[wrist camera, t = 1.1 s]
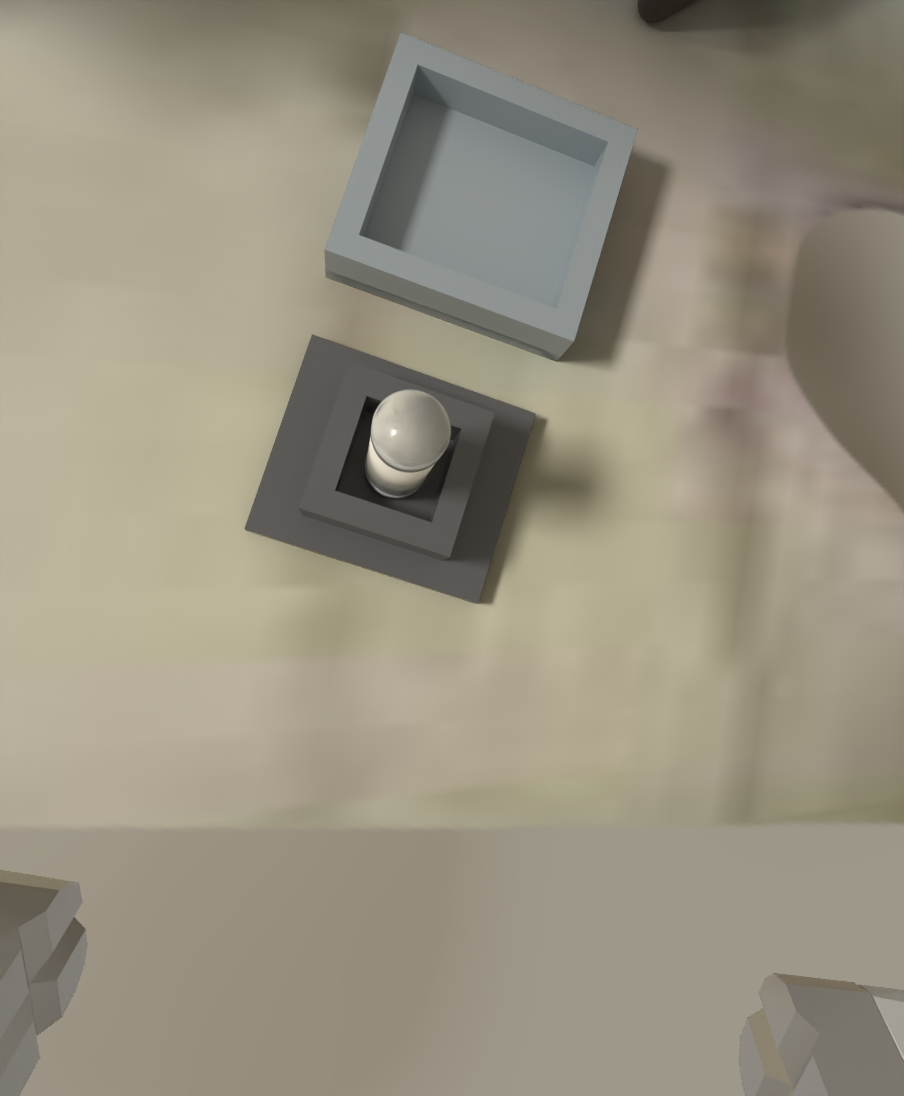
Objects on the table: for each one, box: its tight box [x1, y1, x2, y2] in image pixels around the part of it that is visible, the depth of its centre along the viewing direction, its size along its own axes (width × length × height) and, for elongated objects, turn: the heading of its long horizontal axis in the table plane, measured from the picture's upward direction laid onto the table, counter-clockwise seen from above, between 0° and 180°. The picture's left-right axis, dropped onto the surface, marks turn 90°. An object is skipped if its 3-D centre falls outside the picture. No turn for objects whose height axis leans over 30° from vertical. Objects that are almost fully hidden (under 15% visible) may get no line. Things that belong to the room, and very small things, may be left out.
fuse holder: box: [245, 335, 535, 603], centre depth 42 cm, size 14×12×4 cm
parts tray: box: [325, 32, 638, 361], centre depth 45 cm, size 15×14×4 cm
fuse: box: [364, 390, 451, 500], centre depth 38 cm, size 4×4×10 cm
